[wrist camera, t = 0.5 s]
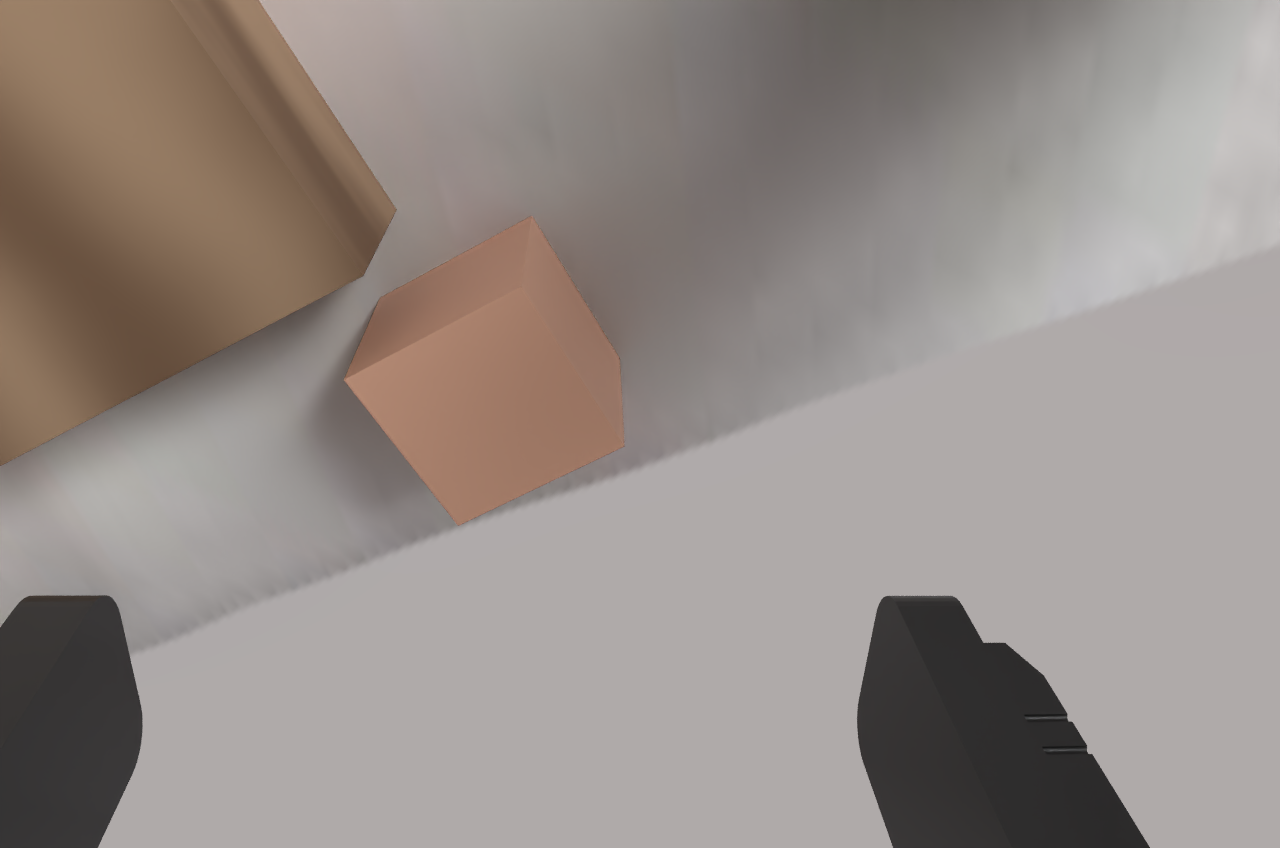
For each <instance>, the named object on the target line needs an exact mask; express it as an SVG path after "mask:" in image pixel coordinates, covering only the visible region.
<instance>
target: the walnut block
mask: <svg viewBox="0 0 1280 848" xmlns="http://www.w3.org/2000/svg"><path fill="white" fill-rule="evenodd" d="M395 212H396V208H395V207H394V205H393V204H392V202H391V200H390V199H389V197H388V196H387V194H386V193H385V191H384V190H383V188H382V187H381V185H380V184H379V182H378V181H377V179H376V178H375V176H374V175H373V173H372V172H371V170H370V169H369V167H368V166H367V164H366V163H365V161H364V160H363V158H362V156H361V155H360V153H359V152H358V150H357V149H356V147H355V146H354V144H353V143H352V141H351V140H350V138H349V137H348V135H347V134H346V132H345V131H344V129H343V128H342V126H341V125H340V123H339V122H338V120H337V119H336V117H335V116H334V114H333V113H332V111H331V109H330V108H329V106H328V105H327V103H326V102H325V100H324V99H323V97H322V96H321V94H320V93H319V91H318V90H317V88H316V87H315V85H314V84H313V82H312V81H311V79H310V78H309V76H308V75H307V73H306V72H305V70H304V69H303V67H302V65H301V64H300V62H299V61H298V59H297V58H296V56H295V55H294V53H293V52H292V50H291V49H290V47H289V46H288V44H287V43H286V41H285V40H284V38H283V37H282V35H281V34H280V32H279V31H278V29H277V28H276V26H275V25H274V23H273V21H272V20H271V18H270V17H269V15H268V14H267V12H266V11H265V9H264V8H263V6H262V5H261V3H260V2H259V0H0V466H1V465H3V464H5V463H7V462H9V461H11V460H13V459H15V458H17V457H18V456H20V455H22V454H24V453H26V452H28V451H30V450H32V449H34V448H36V447H38V446H39V445H41V444H43V443H45V442H47V441H49V440H51V439H53V438H55V437H57V436H58V435H60V434H62V433H64V432H66V431H68V430H70V429H72V428H74V427H76V426H78V425H79V424H81V423H83V422H85V421H87V420H89V419H91V418H93V417H95V416H97V415H99V414H100V413H102V412H104V411H106V410H108V409H110V408H112V407H114V406H116V405H118V404H120V403H121V402H123V401H125V400H127V399H129V398H131V397H133V396H135V395H137V394H139V393H140V392H142V391H144V390H146V389H148V388H150V387H152V386H154V385H156V384H158V383H160V382H161V381H163V380H165V379H167V378H169V377H171V376H173V375H175V374H177V373H179V372H181V371H182V370H184V369H186V368H188V367H190V366H192V365H194V364H196V363H198V362H200V361H202V360H203V359H205V358H207V357H209V356H211V355H213V354H215V353H217V352H219V351H221V350H222V349H224V348H226V347H228V346H230V345H232V344H234V343H236V342H238V341H240V340H242V339H243V338H245V337H247V336H249V335H251V334H253V333H255V332H257V331H259V330H261V329H263V328H264V327H266V326H268V325H270V324H272V323H274V322H276V321H278V320H280V319H282V318H284V317H285V316H287V315H289V314H291V313H293V312H295V311H297V310H299V309H301V308H303V307H305V306H306V305H308V304H310V303H312V302H314V301H316V300H318V299H320V298H322V297H324V296H325V295H327V294H329V293H331V292H333V291H335V290H337V289H339V288H341V287H343V286H345V285H346V284H348V283H350V282H352V281H354V280H356V279H358V278H360V277H362V276H363V275H364V273H365V271H366V269H367V267H368V265H369V263H370V261H371V259H372V257H373V255H374V253H375V251H376V249H377V247H378V245H379V243H380V242H381V240H382V238H383V236H384V234H385V232H386V230H387V228H388V226H389V224H390V222H391V220H392V218H393V216H394V214H395Z"/></svg>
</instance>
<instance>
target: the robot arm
mask: <svg viewBox="0 0 1280 848" xmlns="http://www.w3.org/2000/svg"><path fill="white" fill-rule="evenodd" d="M857 728H858V739H859V746H860V751H861V756H862V760H863V763H864V765H865V768H866V772H867V774H868V777H869V780H870V783H871V786H872V789H873V791H874V794H875V797H876V800H877V803H878V805H879V809H880V811H881V814H882V817H883V820H884V822H885V826H886V828H887V831H888V834H889V837H890V840H891V843H892V846H893V848H1150V847H1149V845H1148V844H1147V842H1146V841H1145V839H1144V837H1143V836H1142V834H1141V833H1140V831H1139V829H1138V828H1137V826H1136V825H1135V823H1134V821H1133V820H1132V818H1131V816H1130V815H1129V813H1128V811H1127V810H1126V808H1125V807H1124V805H1123V803H1122V802H1121V800H1120V799H1119V797H1118V795H1117V794H1116V792H1115V790H1114V789H1113V787H1112V786H1111V784H1110V783H1109V781H1108V779H1107V778H1106V776H1105V774H1104V773H1103V771H1102V769H1101V768H1100V766H1099V765H1098V763H1097V761H1096V760H1095V758H1094V756H1093V755H1092V754H1088V753H1087V745H1086V743H1085V742H1084V740H1083V739H1082V737H1081V735H1080V734H1079V732H1078V730H1077V729H1076V727H1075V726H1074V724H1073V722H1068V719H1067V713H1066V711H1065V709H1064V708H1063V706H1062V704H1061V703H1060V701H1059V700H1058V698H1057V696H1056V695H1055V693H1054V691H1053V690H1052V688H1051V687H1050V685H1049V683H1048V682H1047V680H1046V679H1045V677H1044V675H1042V674H1041V673H1040V672H1039V671H1038V670H1036V669H1035V668H1034V667H1033V666H1032V665H1031V664H1029V663H1028V662H1027V661H1025V659H1023V658H1022V657H1021V656H1020V655H1019V654H1017V653H1016V652H1015V651H1014V650H1013V649H1012V648H1010V647H1009V646H1008V645H1007V644H1006V643H983V642H982V640H981V638H980V636H979V634H978V633H977V631H976V629H975V627H974V625H973V624H972V622H971V620H970V618H969V617H968V615H967V613H966V611H965V610H964V608H963V606H962V605H961V603H960V601H958V599H957V598H955V597H953V596H886V597H884V598H883V599H882V600H881V602H880V604H879V606H878V609H877V613H876V618H875V622H874V628H873V632H872V637H871V642H870V647H869V653H868V657H867V662H866V667H865V673H864V677H863V682H862V687H861V692H860V697H859V703H858V714H857ZM141 738H142V710H141V705H140V700H139V695H138V691H137V687H136V682H135V678H134V673H133V669H132V665H131V660H130V656H129V651H128V647H127V643H126V638H125V634H124V629H123V625H122V620H121V616H120V612H119V609H118V607H117V604H116V603H115V601H114V600H113V599H112V598H111V597H109V596H28V597H26V598H24V599H23V600H22V601H20V602H19V604H18V605H17V606H16V607H15V608H14V610H13V611H12V613H11V614H10V615H9V617H8V618H7V619H6V621H5V622H4V623H3V625H2V626H1V627H0V848H98V846H99V844H100V842H101V840H102V837H103V835H104V833H105V831H106V829H107V826H108V825H109V823H110V820H111V818H112V816H113V814H114V812H115V810H116V808H117V805H118V803H119V801H120V799H121V797H122V795H123V793H124V791H125V789H126V786H127V784H128V782H129V780H130V778H131V776H132V773H133V771H134V769H135V766H136V763H137V759H138V755H139V751H140V746H141Z"/></svg>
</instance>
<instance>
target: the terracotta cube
mask: <svg viewBox="0 0 1280 848" xmlns="http://www.w3.org/2000/svg"><path fill="white" fill-rule="evenodd" d="M344 381H345V382H346V383H347V385H348V386H349V387H350V389H351V390H352V391H353V392H354V394H355V395H356V396H357V397H358V399H359V400H360V401H361V403H362V404H363V405H364V406H365V408H366V409H367V410H368V411H369V413H370V414H371V415H372V417H373V418H374V419H375V420H376V422H377V423H378V424H379V426H380V427H381V428H382V429H383V431H384V432H385V433H386V434H387V436H388V437H389V438H390V440H391V441H392V442H393V443H394V445H395V446H396V447H397V448H398V450H399V451H400V452H401V454H402V455H403V456H404V457H405V459H406V460H407V461H408V462H409V464H410V465H411V466H412V468H413V469H414V470H415V471H416V473H417V474H418V475H419V477H420V478H421V479H422V480H423V482H424V483H425V484H426V485H427V487H428V488H429V489H430V491H431V492H432V493H433V494H434V496H435V497H436V498H437V499H438V501H439V502H440V503H441V505H442V506H443V507H444V508H445V510H446V511H447V512H448V513H449V515H450V516H451V517H452V519H453V520H454V521H455V522H456V524H457V525H458V526H459V525H461V524H463V523H465V522H467V521H469V520H471V519H473V518H476V517H478V516H480V515H482V514H484V513H486V512H488V511H490V510H492V509H494V508H497V507H499V506H501V505H503V504H505V503H507V502H509V501H511V500H513V499H515V498H517V497H520V496H522V495H524V494H526V493H528V492H530V491H532V490H534V489H536V488H538V487H540V486H543V485H545V484H547V483H549V482H551V481H553V480H555V479H557V478H559V477H561V476H564V475H566V474H568V473H570V472H572V471H574V470H576V469H578V468H580V467H582V466H584V465H587V464H589V463H591V462H593V461H595V460H597V459H599V458H601V457H603V456H605V455H608V454H610V453H612V452H614V451H616V450H618V449H620V448H622V447H624V427H623V408H622V389H621V370H620V358H619V357H618V355H617V353H616V352H615V350H614V348H613V347H612V345H611V344H610V342H609V340H608V339H607V337H606V335H605V334H604V332H603V331H602V329H601V327H600V326H599V324H598V322H597V321H596V319H595V317H594V316H593V314H592V313H591V311H590V309H589V308H588V306H587V304H586V303H585V301H584V300H583V298H582V296H581V295H580V293H579V291H578V290H577V288H576V287H575V285H574V283H573V282H572V280H571V278H570V277H569V275H568V274H567V272H566V270H565V269H564V267H563V265H562V264H561V262H560V261H559V259H558V257H557V256H556V254H555V252H554V251H553V249H552V248H551V246H550V244H549V243H548V241H547V239H546V238H545V236H544V234H543V233H542V231H541V230H540V228H539V226H538V225H537V223H536V221H535V220H534V218H533V217H532V216H530V217H528V218H527V219H525V220H523V221H521V222H519V223H517V224H516V225H514V226H512V227H510V228H508V229H506V230H504V231H503V232H501V233H499V234H497V235H495V236H493V237H492V238H490V239H488V240H486V241H484V242H482V243H480V244H479V245H477V246H475V247H473V248H471V249H469V250H468V251H466V252H464V253H462V254H460V255H458V256H456V257H455V258H453V259H451V260H449V261H447V262H445V263H444V264H442V265H440V266H438V267H436V268H434V269H432V270H431V271H429V272H427V273H425V274H423V275H421V276H420V277H418V278H416V279H414V280H412V281H410V282H408V283H407V284H405V285H403V286H401V287H399V288H397V289H396V290H394V291H392V292H390V293H388V294H386V295H384V296H383V297H381V298H380V299H379V301H378V303H377V306H376V308H375V310H374V312H373V315H372V317H371V319H370V322H369V324H368V326H367V328H366V331H365V333H364V335H363V337H362V340H361V342H360V344H359V346H358V349H357V351H356V353H355V355H354V358H353V360H352V362H351V365H350V367H349V369H348V371H347V374H346V376H345V378H344Z"/></svg>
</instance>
